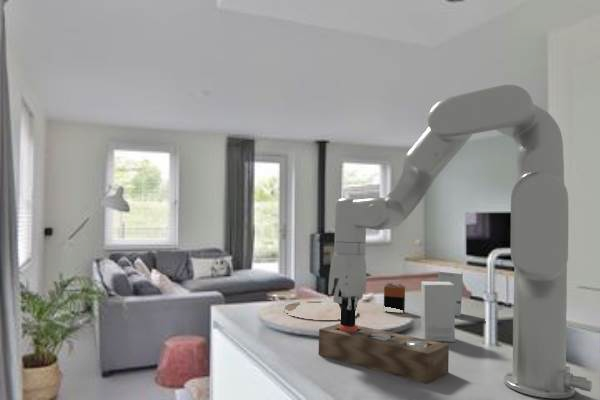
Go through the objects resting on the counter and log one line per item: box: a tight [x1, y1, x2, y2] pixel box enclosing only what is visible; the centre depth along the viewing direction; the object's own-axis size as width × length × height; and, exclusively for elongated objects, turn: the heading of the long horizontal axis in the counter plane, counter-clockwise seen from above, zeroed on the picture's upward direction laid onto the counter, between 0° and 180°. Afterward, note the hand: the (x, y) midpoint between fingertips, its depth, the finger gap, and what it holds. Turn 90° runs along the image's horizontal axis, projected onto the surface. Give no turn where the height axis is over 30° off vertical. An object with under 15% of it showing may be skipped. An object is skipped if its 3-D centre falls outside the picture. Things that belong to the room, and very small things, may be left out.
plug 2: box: [406, 341, 427, 349], centre depth 102 cm, size 4×4×5 cm
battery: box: [383, 282, 406, 312], centre depth 167 cm, size 4×7×10 cm, turn 71°
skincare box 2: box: [437, 270, 464, 317], centre depth 166 cm, size 8×6×15 cm
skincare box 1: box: [420, 280, 456, 343], centre depth 131 cm, size 8×7×16 cm
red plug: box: [339, 323, 359, 333], centre depth 114 cm, size 4×4×5 cm
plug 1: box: [371, 333, 391, 340], centre depth 108 cm, size 4×4×5 cm
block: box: [318, 323, 450, 385], centre depth 108 cm, size 28×10×6 cm, turn 49°
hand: (347, 325), depth 114 cm, fingers closed
